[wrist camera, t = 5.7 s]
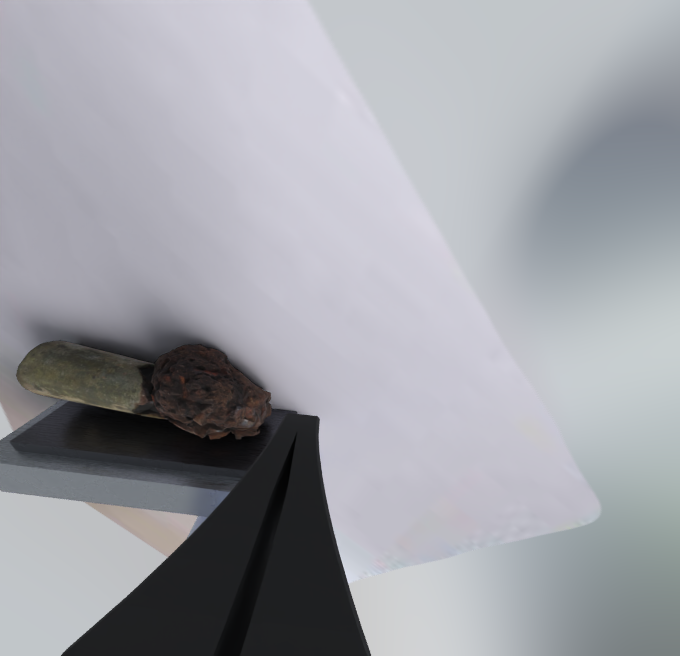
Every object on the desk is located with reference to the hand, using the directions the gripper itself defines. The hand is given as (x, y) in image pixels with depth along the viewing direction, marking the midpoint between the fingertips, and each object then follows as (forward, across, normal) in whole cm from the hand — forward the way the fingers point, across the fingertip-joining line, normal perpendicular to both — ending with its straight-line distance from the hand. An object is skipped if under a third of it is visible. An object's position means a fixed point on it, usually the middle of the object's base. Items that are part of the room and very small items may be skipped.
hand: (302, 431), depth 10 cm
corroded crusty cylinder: (+10, +13, +5) cm, 17 cm away
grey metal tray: (+9, +12, +12) cm, 20 cm away
